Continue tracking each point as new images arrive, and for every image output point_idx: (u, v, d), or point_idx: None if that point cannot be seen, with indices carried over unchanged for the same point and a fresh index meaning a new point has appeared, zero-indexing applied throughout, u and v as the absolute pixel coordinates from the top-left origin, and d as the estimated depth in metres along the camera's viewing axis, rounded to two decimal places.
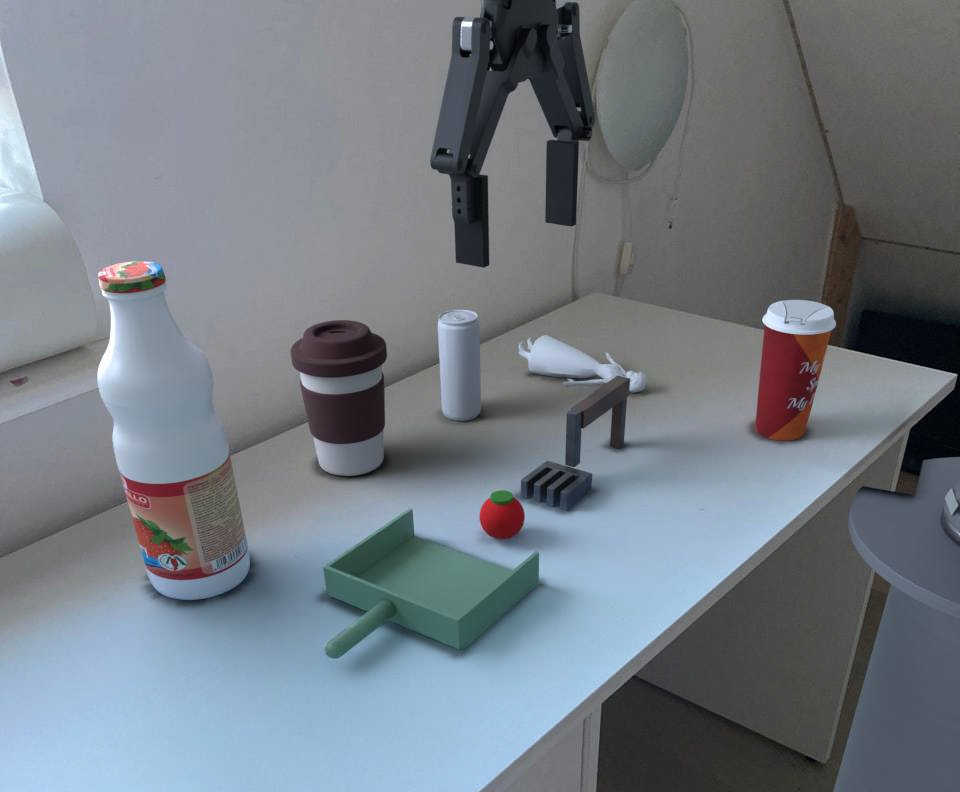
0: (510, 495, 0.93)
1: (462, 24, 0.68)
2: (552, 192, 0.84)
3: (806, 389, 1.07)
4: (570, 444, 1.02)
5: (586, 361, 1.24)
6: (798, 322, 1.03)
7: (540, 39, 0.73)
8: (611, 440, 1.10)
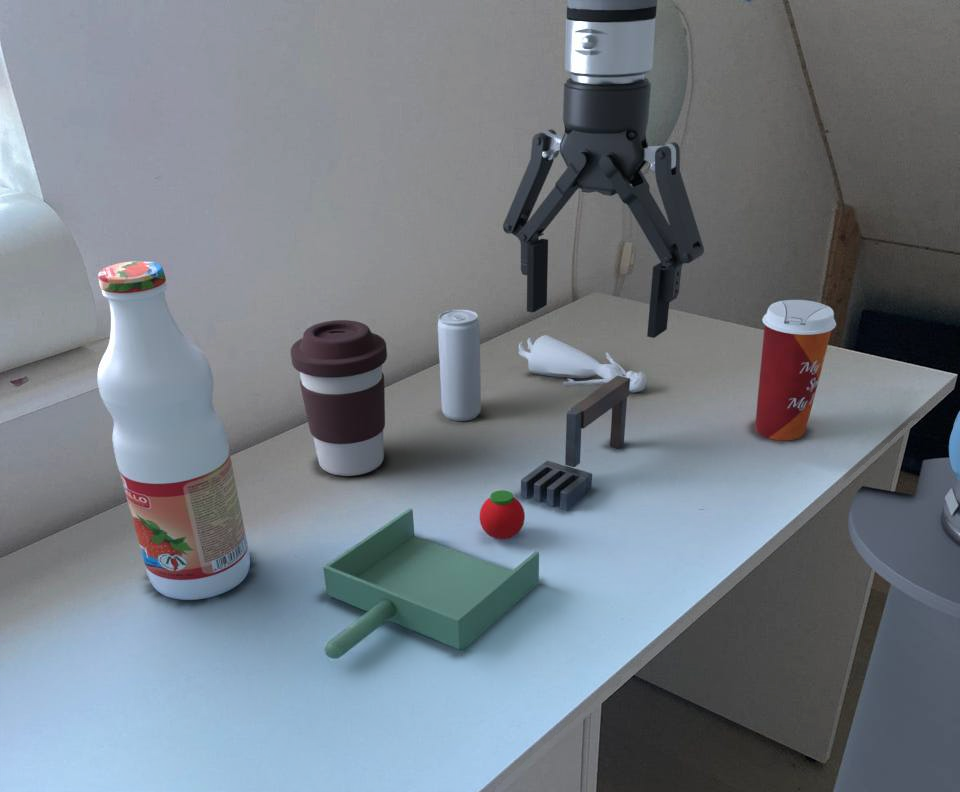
0: (510, 495, 0.93)
1: (671, 151, 0.84)
2: (536, 285, 0.98)
3: (806, 389, 1.07)
4: (570, 444, 1.02)
5: (586, 361, 1.24)
6: (798, 322, 1.03)
7: None
8: (611, 440, 1.10)
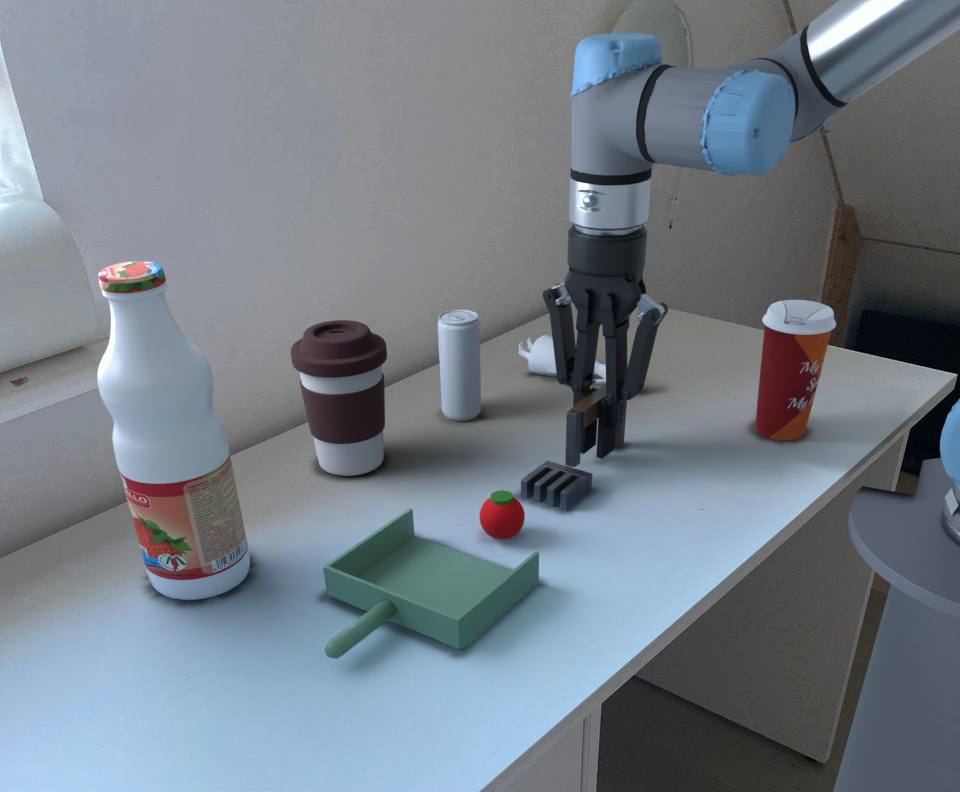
0: (510, 495, 0.93)
1: (660, 316, 0.94)
2: (587, 430, 1.06)
3: (806, 389, 1.07)
4: (570, 444, 1.02)
5: None
6: (798, 322, 1.03)
7: None
8: None
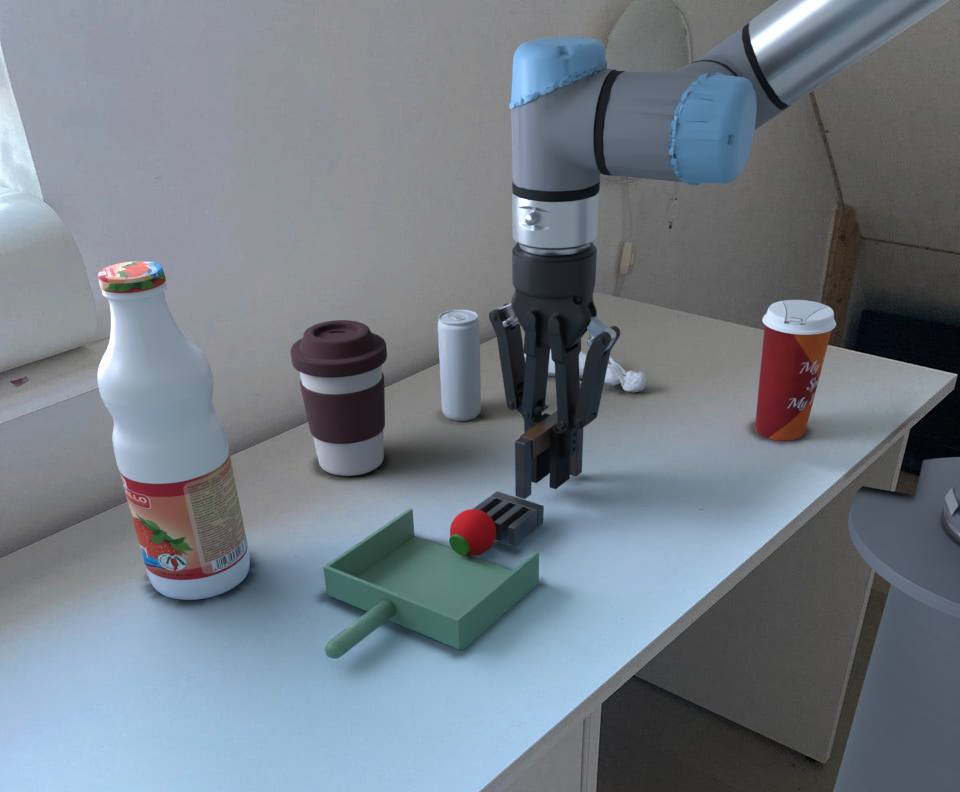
0: (461, 542, 0.91)
1: (611, 340, 0.88)
2: (540, 458, 0.99)
3: (806, 389, 1.07)
4: (520, 474, 0.95)
5: None
6: (798, 322, 1.03)
7: None
8: None
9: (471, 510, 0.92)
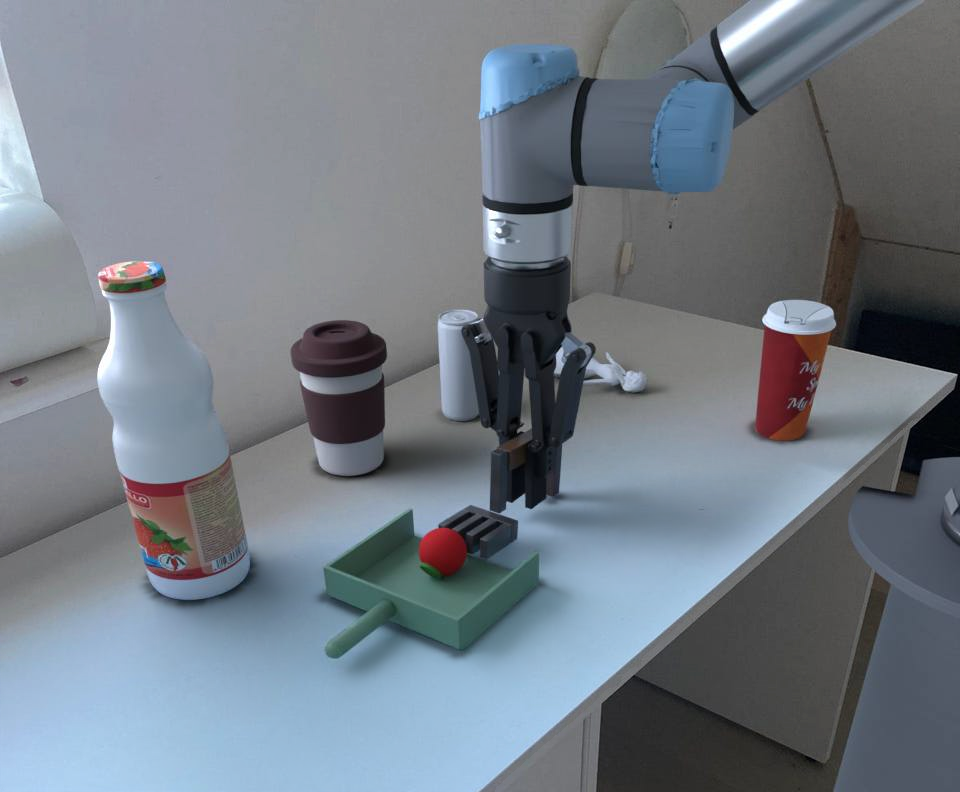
0: (431, 571, 0.88)
1: (586, 357, 0.85)
2: (515, 477, 0.96)
3: (806, 389, 1.07)
4: (495, 487, 0.92)
5: None
6: (798, 322, 1.03)
7: None
8: None
9: (434, 534, 0.88)
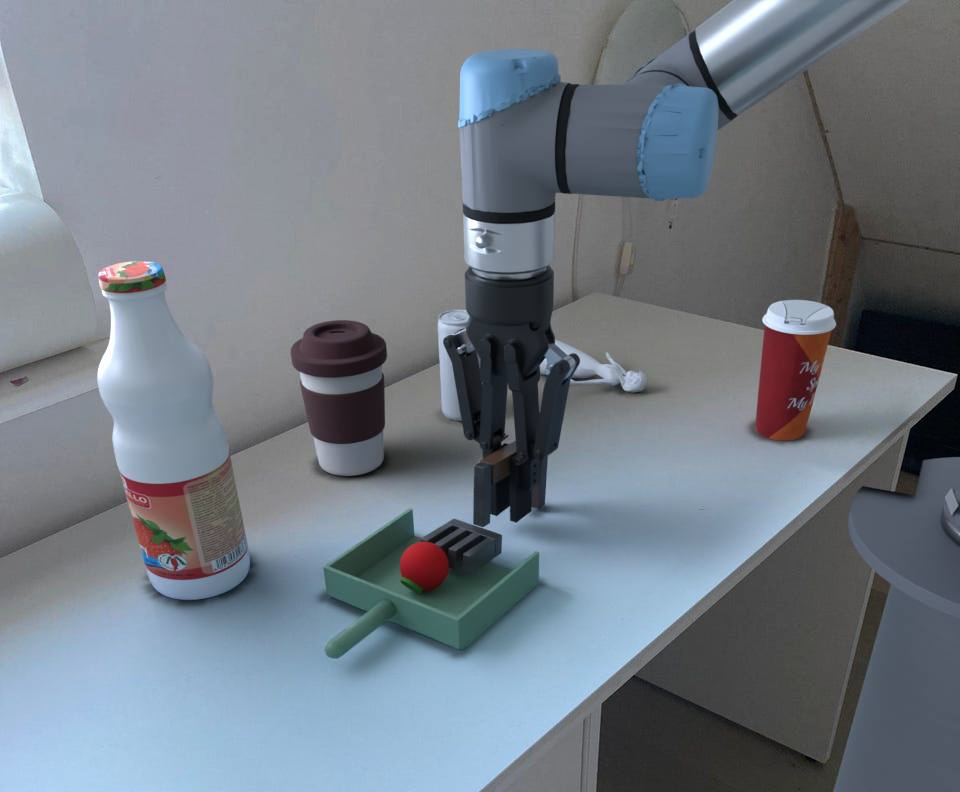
0: (412, 586, 0.86)
1: (570, 369, 0.83)
2: (500, 490, 0.94)
3: (806, 389, 1.07)
4: (478, 501, 0.90)
5: (586, 361, 1.24)
6: (798, 322, 1.03)
7: None
8: None
9: (415, 548, 0.86)
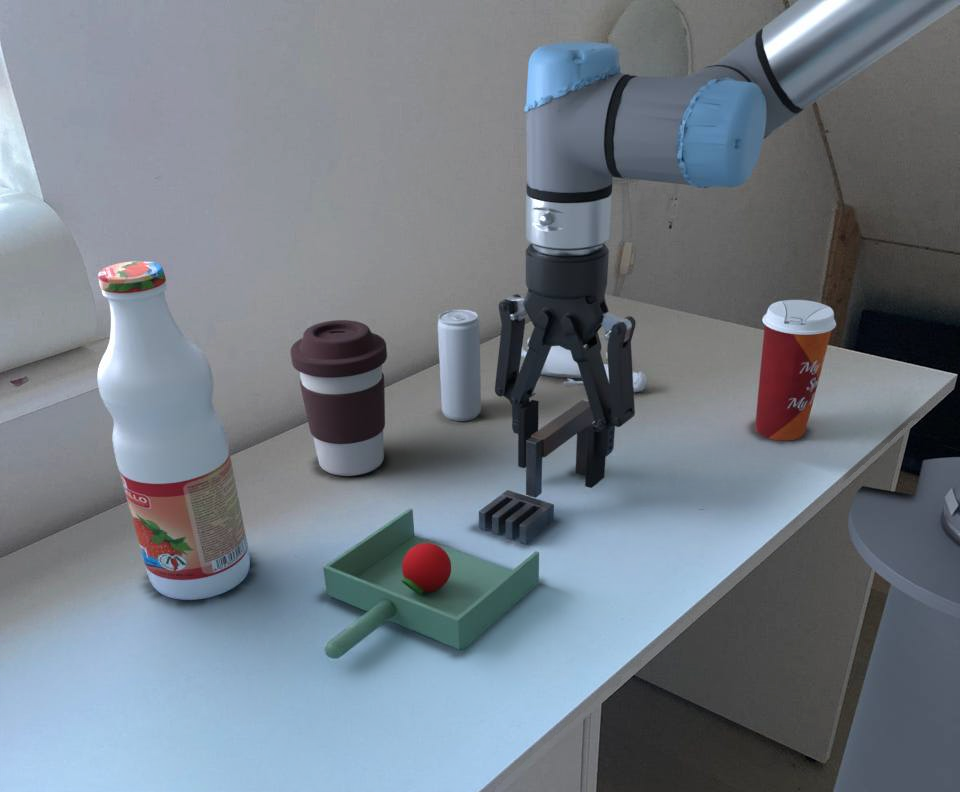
0: (413, 588, 0.86)
1: (627, 328, 0.89)
2: None
3: (806, 389, 1.07)
4: (530, 473, 0.97)
5: None
6: (798, 322, 1.03)
7: None
8: (577, 467, 1.06)
9: (420, 551, 0.86)
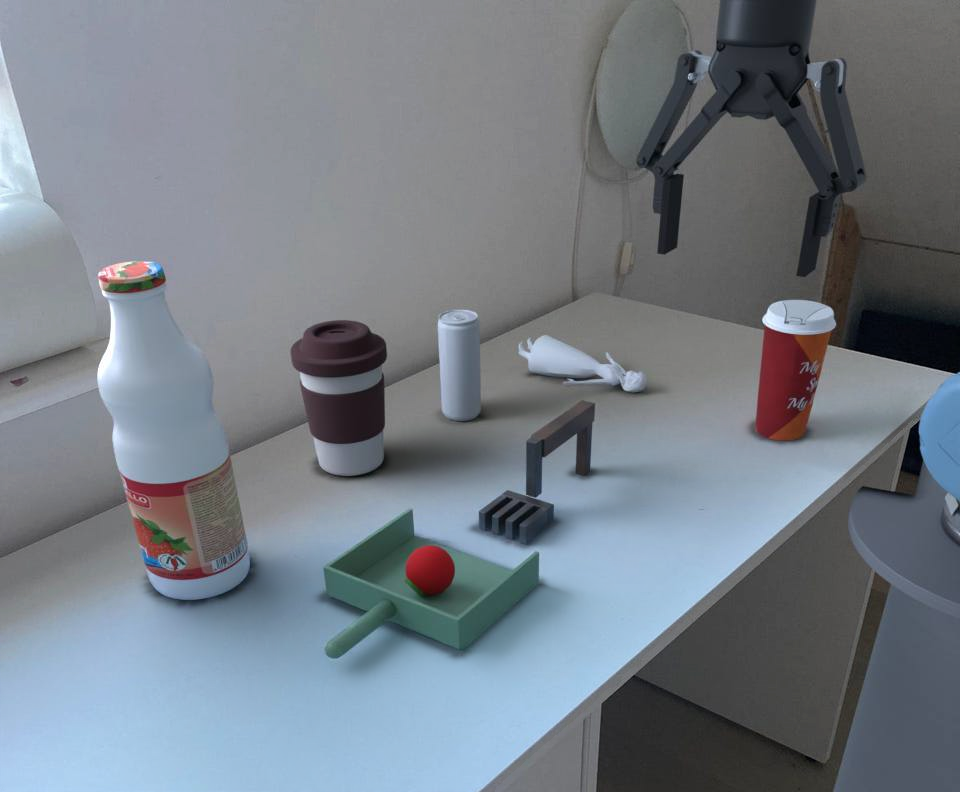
0: (415, 591, 0.86)
1: (840, 66, 0.77)
2: (670, 224, 0.91)
3: (806, 389, 1.07)
4: (530, 473, 0.97)
5: (586, 361, 1.24)
6: (798, 322, 1.03)
7: None
8: (577, 467, 1.06)
9: (427, 557, 0.85)
